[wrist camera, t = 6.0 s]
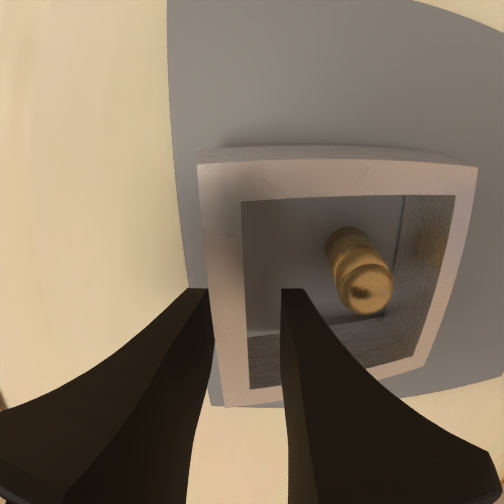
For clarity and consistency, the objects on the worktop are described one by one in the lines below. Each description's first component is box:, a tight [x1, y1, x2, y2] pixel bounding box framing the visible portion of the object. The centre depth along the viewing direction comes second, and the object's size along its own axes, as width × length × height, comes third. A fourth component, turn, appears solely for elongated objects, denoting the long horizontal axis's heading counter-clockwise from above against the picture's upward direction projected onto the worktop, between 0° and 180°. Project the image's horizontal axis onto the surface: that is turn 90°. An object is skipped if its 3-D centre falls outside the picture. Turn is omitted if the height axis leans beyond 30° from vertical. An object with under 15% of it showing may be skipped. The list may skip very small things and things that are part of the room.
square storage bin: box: [197, 145, 478, 408], centre depth 11 cm, size 9×9×3 cm
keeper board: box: [167, 0, 504, 408], centre depth 13 cm, size 22×22×1 cm
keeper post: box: [325, 226, 394, 315], centre depth 12 cm, size 2×2×5 cm
